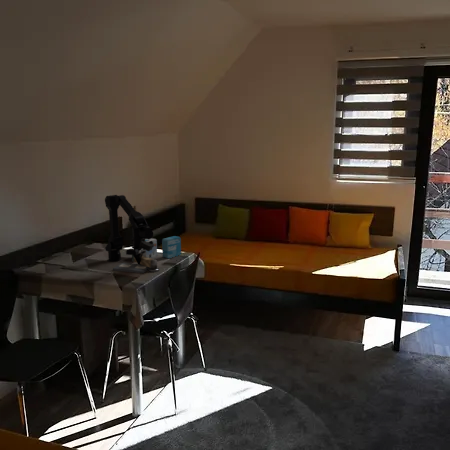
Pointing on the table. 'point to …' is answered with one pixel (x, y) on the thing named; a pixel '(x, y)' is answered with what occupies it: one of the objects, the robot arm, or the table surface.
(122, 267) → the label board
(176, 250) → the data package
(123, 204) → the robot arm
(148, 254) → the light bulb box
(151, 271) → the pivot base
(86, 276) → the table surface
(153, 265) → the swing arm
